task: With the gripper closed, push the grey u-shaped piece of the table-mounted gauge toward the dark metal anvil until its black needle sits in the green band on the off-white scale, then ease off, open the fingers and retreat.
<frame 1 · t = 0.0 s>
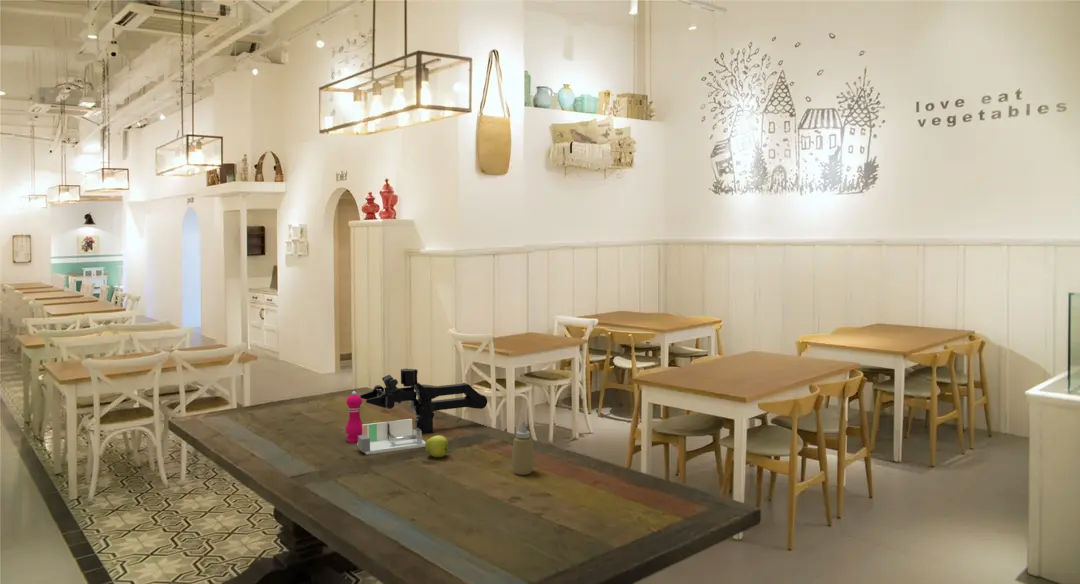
hand: (363, 398, 309), 17 cm above the table, tool horizontal, fingers open, 9 cm apart
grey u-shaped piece: (402, 433, 302), point 5 cm above the table, slide at 0.0 cm
apple: (438, 457, 287), on the table
pepper mill: (355, 441, 308), on the table
gauge base: (395, 448, 298), on the table
squeeze bottle: (523, 473, 268), on the table
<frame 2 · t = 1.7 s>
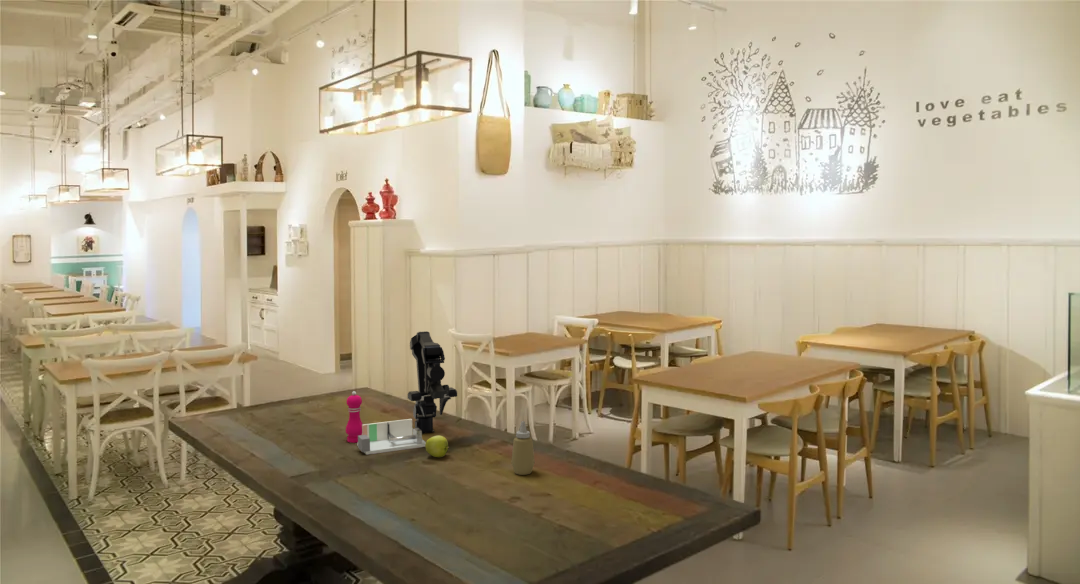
hand: (432, 415, 304), 11 cm above the table, tool pointing down, fingers open, 6 cm apart
nothing on the table moved.
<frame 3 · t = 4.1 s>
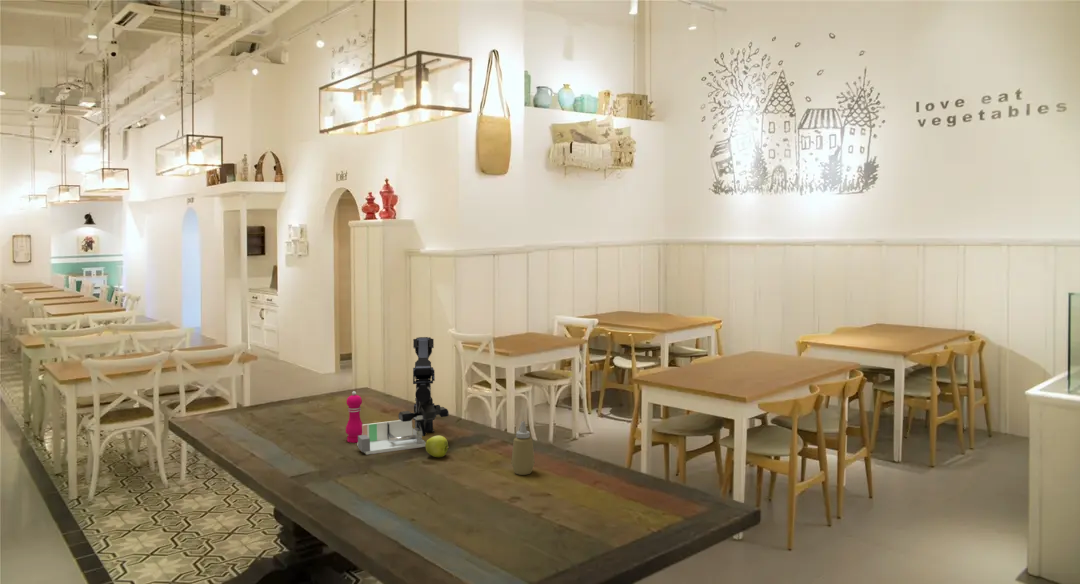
hand: (424, 435, 302), 4 cm above the table, tool pointing down, fingers closed
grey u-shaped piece: (402, 433, 302), point 5 cm above the table, slide at 0.0 cm, touching gripper
everything else where it was.
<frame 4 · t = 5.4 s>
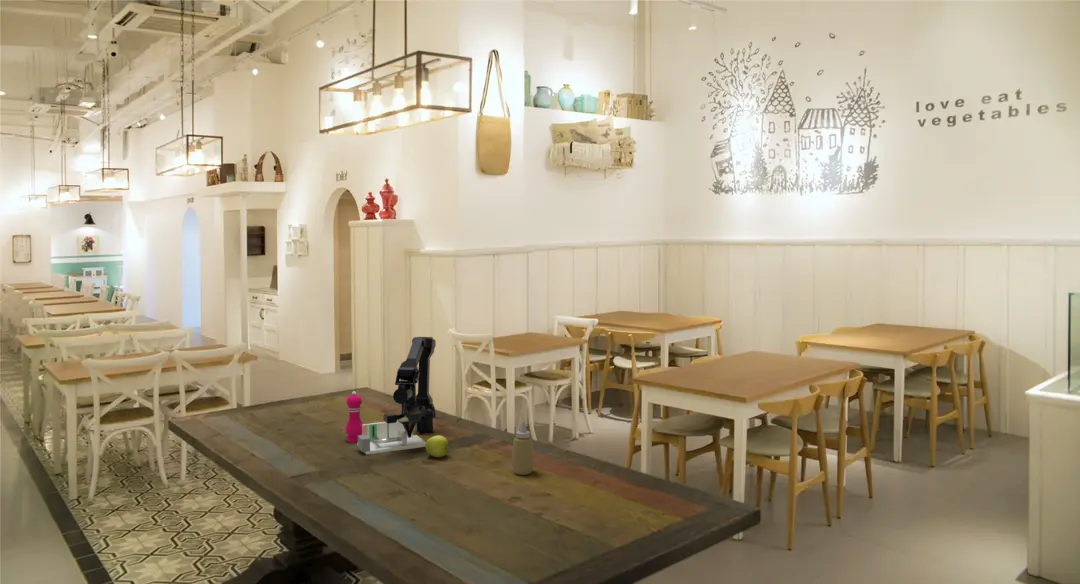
hand: (409, 437, 300), 4 cm above the table, tool pointing down, fingers closed
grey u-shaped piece: (387, 435, 299), point 5 cm above the table, slide at 6.0 cm, touching gripper
everything else where it was.
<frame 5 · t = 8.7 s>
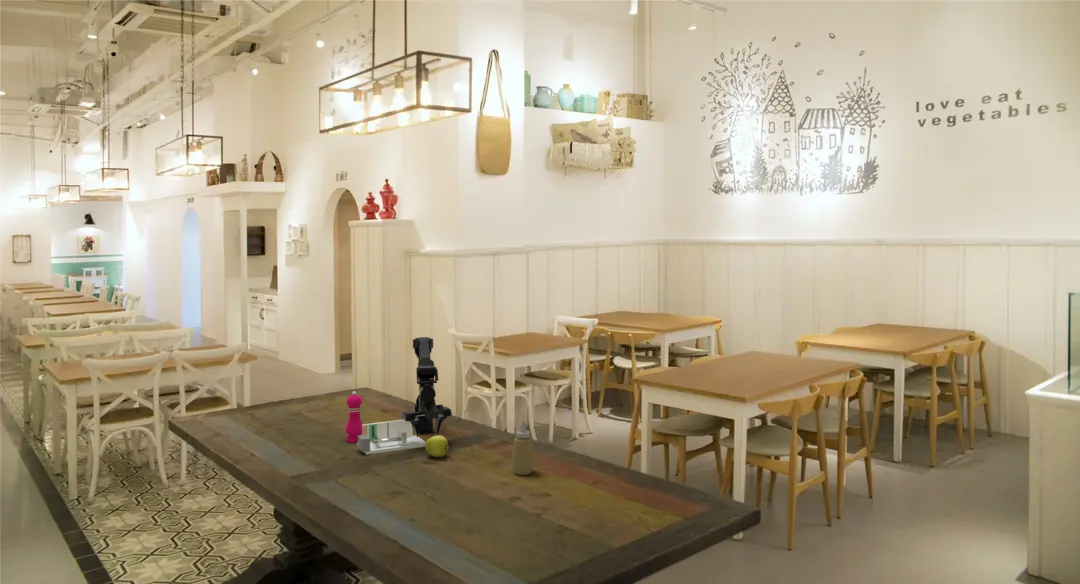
hand: (427, 435, 303), 4 cm above the table, tool pointing down, fingers open, 8 cm apart
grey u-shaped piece: (387, 435, 299), point 5 cm above the table, slide at 6.2 cm
everything else where it was.
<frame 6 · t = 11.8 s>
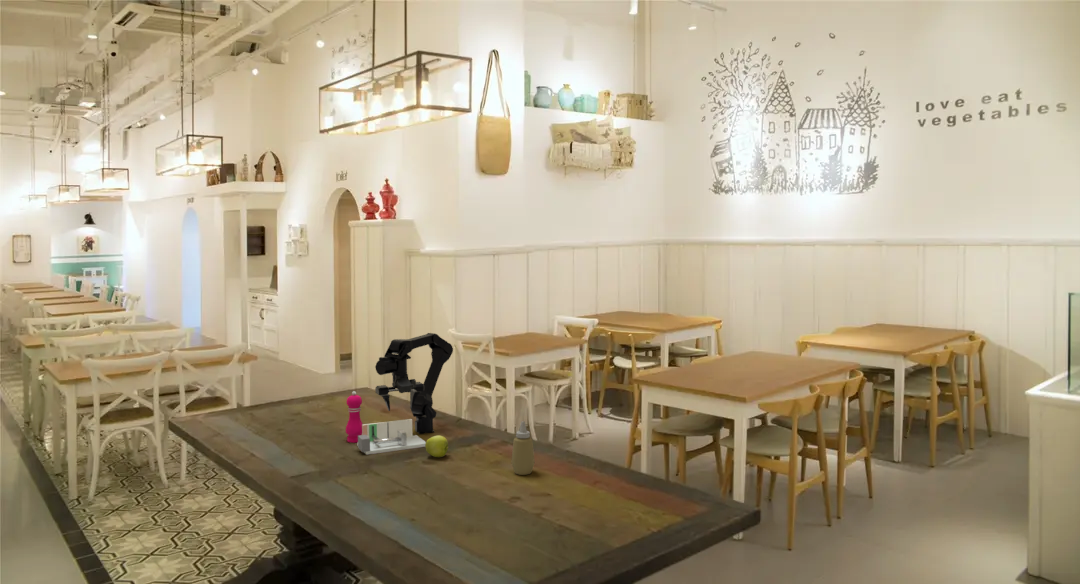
hand: (400, 409, 310), 12 cm above the table, tool pointing down, fingers open, 9 cm apart
nothing on the table moved.
at the end: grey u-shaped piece slide at 6.2 cm; pepper mill moved 0.2 cm from its start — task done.
